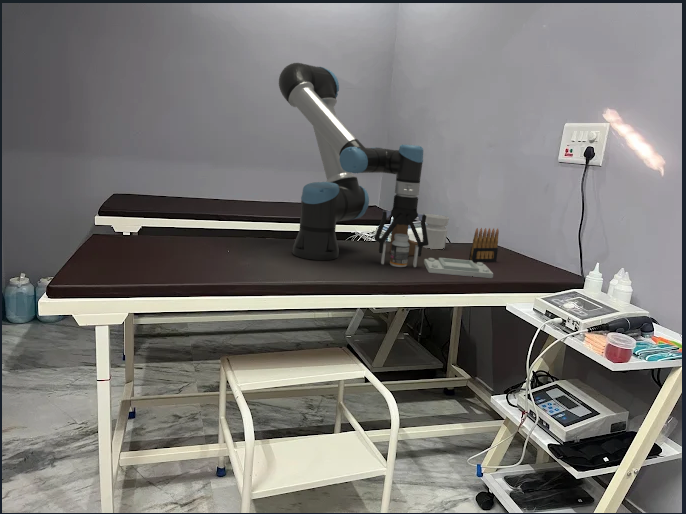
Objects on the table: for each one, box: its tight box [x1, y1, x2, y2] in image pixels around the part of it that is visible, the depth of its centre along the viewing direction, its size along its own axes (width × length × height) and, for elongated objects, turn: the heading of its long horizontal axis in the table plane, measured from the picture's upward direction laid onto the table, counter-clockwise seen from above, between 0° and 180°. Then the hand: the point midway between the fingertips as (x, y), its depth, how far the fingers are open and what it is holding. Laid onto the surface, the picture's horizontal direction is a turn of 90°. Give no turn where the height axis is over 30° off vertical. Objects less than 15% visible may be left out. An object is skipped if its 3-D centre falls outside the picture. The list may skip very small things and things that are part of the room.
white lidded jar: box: [421, 213, 450, 250], centre depth 210 cm, size 9×9×12 cm
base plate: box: [423, 257, 494, 279], centre depth 178 cm, size 20×12×2 cm, turn 89°
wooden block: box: [388, 217, 418, 257], centre depth 193 cm, size 9×4×18 cm, turn 104°
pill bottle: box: [389, 234, 410, 268], centre depth 177 cm, size 6×6×10 cm
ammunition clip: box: [468, 227, 500, 263], centre depth 193 cm, size 11×2×12 cm, turn 114°
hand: (398, 264), depth 178 cm, fingers open, 10 cm apart
